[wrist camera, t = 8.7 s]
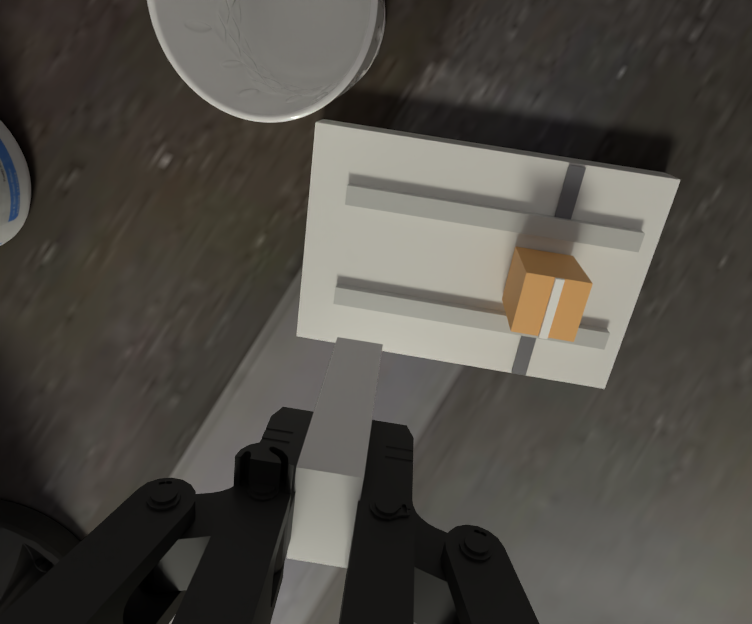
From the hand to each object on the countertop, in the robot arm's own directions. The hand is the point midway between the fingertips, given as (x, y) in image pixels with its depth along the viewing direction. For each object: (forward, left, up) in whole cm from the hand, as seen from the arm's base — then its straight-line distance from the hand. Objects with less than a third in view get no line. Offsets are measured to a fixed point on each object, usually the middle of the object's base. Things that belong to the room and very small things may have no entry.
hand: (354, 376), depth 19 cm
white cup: (-5, +11, -15) cm, 19 cm away
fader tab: (+8, 0, -12) cm, 15 cm away
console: (+5, 0, -15) cm, 15 cm away
